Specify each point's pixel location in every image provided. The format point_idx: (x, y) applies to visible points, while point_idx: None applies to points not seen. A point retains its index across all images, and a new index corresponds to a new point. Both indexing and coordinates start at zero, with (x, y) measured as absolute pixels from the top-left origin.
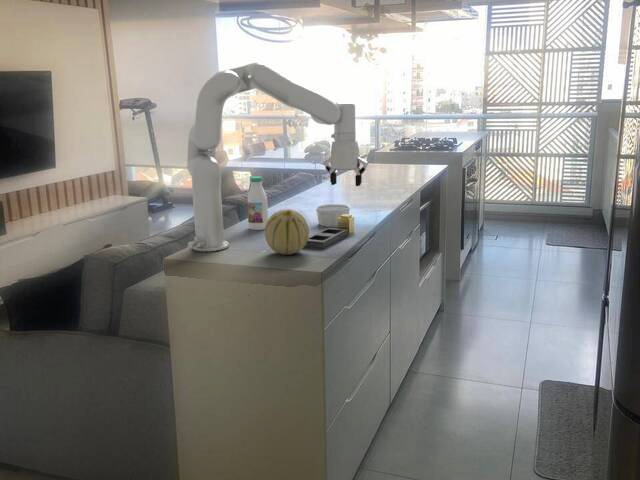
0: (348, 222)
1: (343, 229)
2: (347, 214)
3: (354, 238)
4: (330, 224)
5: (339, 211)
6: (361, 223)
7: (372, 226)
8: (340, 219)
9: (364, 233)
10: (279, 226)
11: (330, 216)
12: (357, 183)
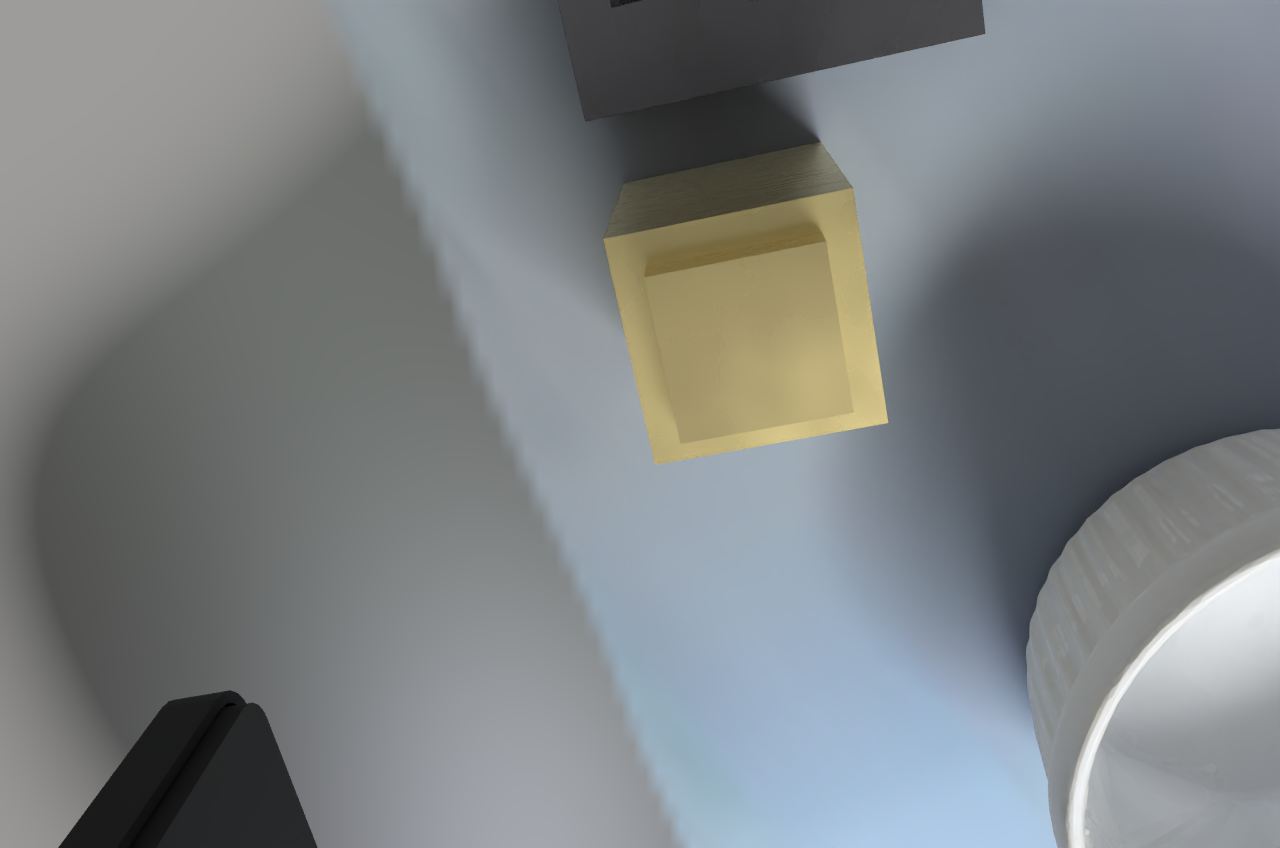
0: (621, 223)
1: (649, 75)
2: (771, 426)
3: (419, 45)
4: (1194, 453)
5: (1124, 638)
6: (888, 834)
7: (656, 770)
8: (792, 197)
9: (497, 395)
10: None
11: (1244, 500)
12: (139, 780)
